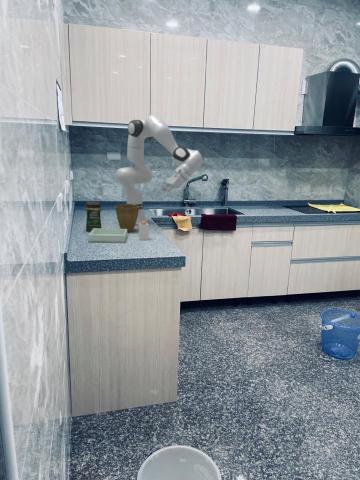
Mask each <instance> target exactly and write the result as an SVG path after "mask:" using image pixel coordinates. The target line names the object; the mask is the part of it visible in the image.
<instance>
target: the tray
mask: <svg viewBox="0 0 360 480" xmlns="http://www.w3.org/2000/svg"><path fill="white" fill-rule="evenodd" d="M89 232H90V233H88V234H87V238H88V241H87V242H88V243H113V244H115V243H117V244H123V243H124V244H125V243H126V240H127V237H128V232H127V229H121V228H101V229H99V228H94V229H93V230H92V231H89Z"/></svg>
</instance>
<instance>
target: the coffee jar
mask: <svg viewBox="0 0 360 480" xmlns="http://www.w3.org/2000/svg"><path fill="white" fill-rule="evenodd" d="M85 210H86V222H85V223H86V224H85V230H86V231H87V232H91V231H92V230H93V229H94V228H99V229H102V220H101V211H102V203H101V202H100V201H86V204H85Z"/></svg>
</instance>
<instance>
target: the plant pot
mask: <svg viewBox="0 0 360 480" xmlns="http://www.w3.org/2000/svg"><path fill="white" fill-rule="evenodd" d="M114 208H115V213H116V218H117V222H118V225H119V229H127V233H130V232H131V233H132V232H134V229H135V226H136V225H135V224H136V221H137V217H138V211H139V206H135V205H126V204H119V205H115V207H114Z"/></svg>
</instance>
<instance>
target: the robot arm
mask: <svg viewBox="0 0 360 480" xmlns="http://www.w3.org/2000/svg"><path fill="white" fill-rule="evenodd" d="M170 129H171V128H170V127H169V125H167V123H166V122H165V121H164V120H163V119H162V118H160V117H159V116H158V115H156V114H151V115H149V116H147V117H146V119H133V120H131V121H129V122H128V125H127V132H128V138H127V146H126V147H127V149H126V150H127V151H126V158H127V159H128V160H129V161H130V162H131V163H133V164H134V167H132V166H131V167H128V166H127V167H121V168H118V169H117V170H116V173H115V178H116V180H117V182H119V184H121V185H122V187H123V188H124V190H125V194H126V196H125V198H126V203H125V205H135V206H139V211H138V217H137V221H136V224H135V226H137V225H138V226H139V223H141V222H142V221H145V222H146V223H148V224H149V222H148V221H147V220H146V211H145V210H144V204H143V192H142V190H141V189H139V188H136V186H135V185H136V184H139V185H140V184H148V183H151V181H152V180H153V176H154V175H153V171H152V170H151V169H150V168H149V167H148V166H147V164H146V162H145V154H144V153H145V140H146V139H152V138H154V139H155V140H156V142H159V144H160V145H162V147H164V149H166V150H167V151H168V152H169V153H170V154H171V156H172V157H173V160H174V161H175V163H176V164H177V168H176V169H175V170H174V174H172V175H171V176H170V177H169V178H168V179H166V181H165V185H164V186H163V188H162V191H163V192H166V193H167V194H169V193H170V192H171V191H172V190H174V189H179V188H180V187H181V186H182V185H184V183H186V182H188V181H189V180H190V178H191V177H192V175H193V174H194V173H195V172H197V171H198V170H199V168H200V167H201V166H202V165H203V163H204V162H205V159H204V156H203V155H202V152H200V151H199V150H198V149H196V150H195V149H194V150H193V149H189V148H187V147H186V146H184V145H182V146H181V145H180V146H178V144H177V142H176V140H175V138H174V135H173V133H172V131H171V130H170Z"/></svg>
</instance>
